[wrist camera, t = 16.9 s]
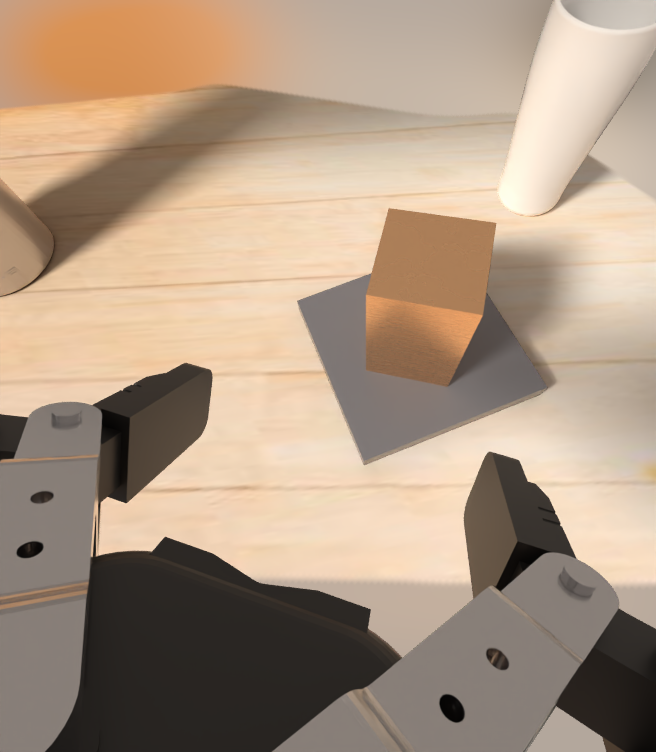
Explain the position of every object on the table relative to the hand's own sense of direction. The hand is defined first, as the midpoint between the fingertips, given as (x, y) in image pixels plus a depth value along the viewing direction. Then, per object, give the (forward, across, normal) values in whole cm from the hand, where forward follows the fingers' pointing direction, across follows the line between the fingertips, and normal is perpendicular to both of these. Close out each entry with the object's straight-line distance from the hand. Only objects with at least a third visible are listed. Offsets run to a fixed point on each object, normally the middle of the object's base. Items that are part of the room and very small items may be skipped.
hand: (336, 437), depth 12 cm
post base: (+22, -2, +3) cm, 23 cm away
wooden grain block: (+21, -2, +2) cm, 21 cm away
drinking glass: (+34, -9, -10) cm, 37 cm away
